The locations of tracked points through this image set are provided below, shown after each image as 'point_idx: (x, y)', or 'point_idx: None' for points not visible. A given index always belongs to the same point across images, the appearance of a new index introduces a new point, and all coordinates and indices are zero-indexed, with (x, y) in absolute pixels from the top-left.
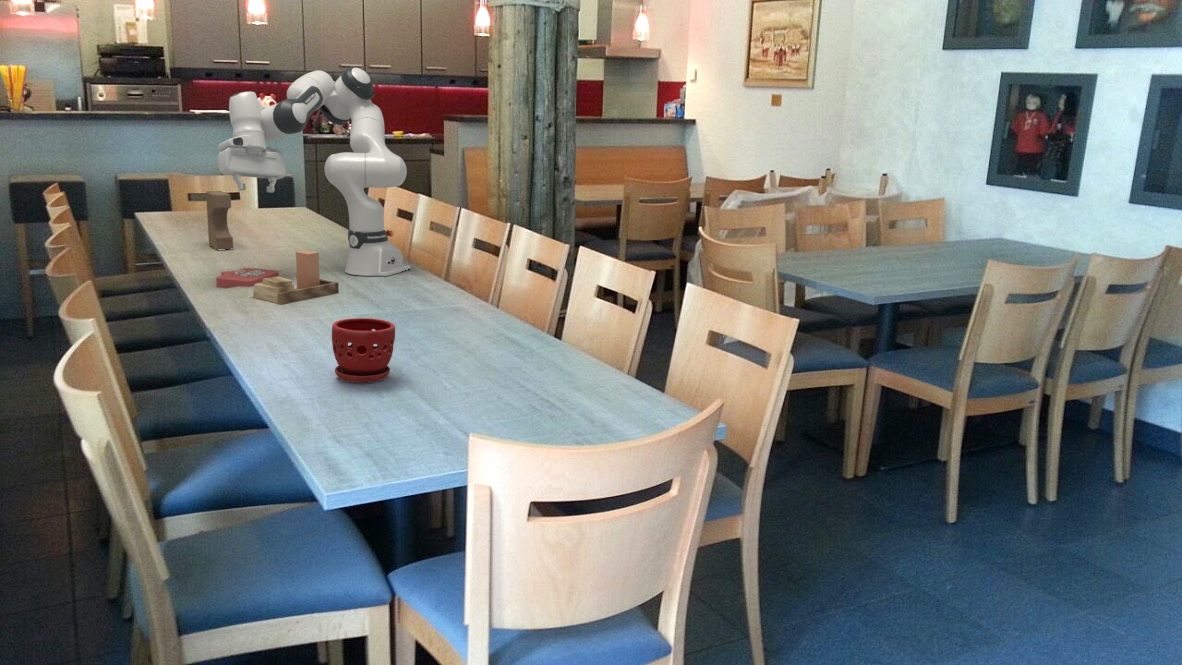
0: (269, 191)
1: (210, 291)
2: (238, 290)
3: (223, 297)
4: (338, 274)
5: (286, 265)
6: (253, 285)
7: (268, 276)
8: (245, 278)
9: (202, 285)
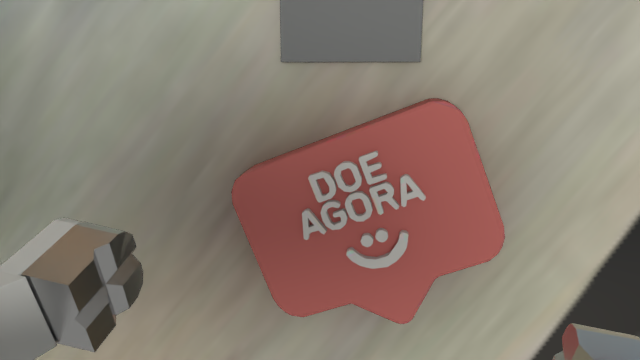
0: (133, 242)
1: (570, 187)
2: (484, 126)
3: (620, 60)
4: (19, 91)
5: None
6: (433, 99)
7: (318, 143)
8: (431, 154)
9: (512, 291)
